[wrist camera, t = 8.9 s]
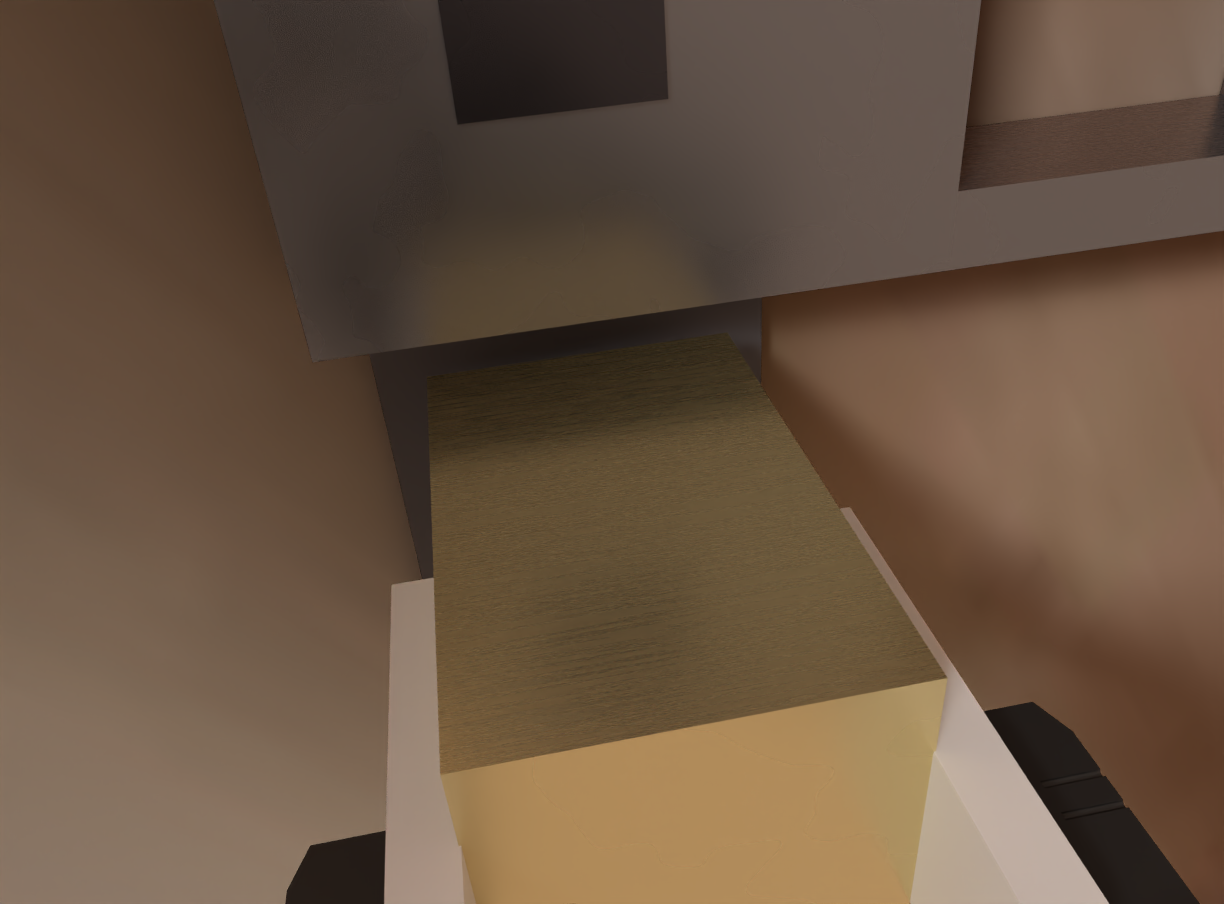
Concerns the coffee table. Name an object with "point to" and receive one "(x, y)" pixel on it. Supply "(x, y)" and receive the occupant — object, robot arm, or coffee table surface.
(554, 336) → the rubber mat
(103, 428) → the coffee table surface
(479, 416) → the yellow rectangular block
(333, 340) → the rack rail
